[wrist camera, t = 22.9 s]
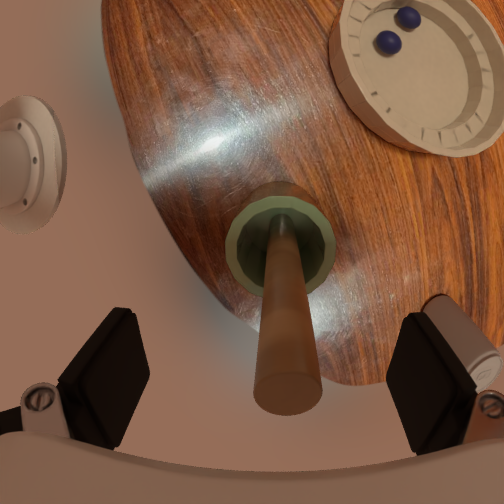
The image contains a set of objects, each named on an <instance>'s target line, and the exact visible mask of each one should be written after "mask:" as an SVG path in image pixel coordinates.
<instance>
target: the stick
mask: <svg viewBox="0 0 504 504" xmlns="http://www.w3.org/2000/svg"><path fill="white" fill-rule="evenodd" d="M322 391H323V390H322V383H321V376H320V369H319V363H318V356H317V350H316V343H315V337H314V331H313V325H312V319H311V313H310V308H309V302H308V296H307V291H306V285H305V280H304V275H303V269H302V264H301V259H300V254H299V249H298V244H297V239H296V234H295V229H294V224H293V221H292V219H291V218H290V217H289V216H288V215H286V214H277V215H275V216H274V217H272V219H271V220H270V223H269V233H268V245H267V256H266V268H265V279H264V290H263V300H262V311H261V321H260V332H259V342H258V352H257V363H256V372H255V382H254V391H253V394H254V398H255V401H256V403H257V404H258V405H259V406H260V407H261V408H262V409H263V410H265V411H267V412H269V413H272V414H276V415H282V416H291V415H297V414H301V413H303V412H306V411H308V410H310V409H312V408H313V407H314V406H315V405H316V404H317V403H318V402H319V400H320V398H321V396H322Z"/></svg>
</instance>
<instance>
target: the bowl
mask: <svg viewBox="0 0 504 504" xmlns="http://www.w3.org/2000/svg"><path fill="white" fill-rule="evenodd" d="M406 6H407V7H412V8H414V9H415V10H417V11H418V12H419V14H420V16H421V24H420V26H419V27H417V28H415V29H408V28H406V27H404V26H402V25H401V24H400V23H399V21H398V19H397V12H398V10H399V9H400V8H402V7H406ZM385 30H389V31H393V32H395V33H396V34H397V35H398V36H399V37H400V39H401V41H402V48H401V50H400V51H399V52H398V53H396V54H393V55H390V54H386V53H384V52H382V51H381V50H380V49H379V48H378V46H377V44H376V37H377V35H378V34H379V33H380V32H381V31H385ZM329 59H330V65H331V68H332V71H333V75H334V78H335V81H336V84H337V87H338V89H339V90H340V92H341V94H342V95H343V97H344V99H345V100H346V102H347V104H348V106H349V107H350V108H351V110H352V111H353V112H354V113H355V114H356V115H357V116H358V117H359V118H360V120H361V121H362V122H363V123H364V124H365V125H366V126H367V127H368V128H369V129H371V130H372V131H373V132H375V133H376V134H377V135H379V136H380V137H382V138H383V139H384V140H386V141H387V142H389V143H391V144H394V145H396V146H399V147H401V148H403V149H405V150H408V151H414V152H421V153H428V154H435V155H442V156H449V157H455V158H458V157H464V156H470V155H476V154H478V153H480V152H481V151H483V150H485V149H487V148H488V147H490V146H492V145H493V144H494V142H495V141H496V140H497V139H498V138H499V136H500V135H501V134H502V133H503V132H504V46H503V44H502V42H501V40H500V38H499V36H498V35H497V33H496V31H495V29H494V27H493V26H492V25H491V23H490V22H489V21H488V19H487V18H486V17H485V16H484V14H483V13H482V12H481V11H480V9H479V8H478V7H477V6H476V5H475V4H474V3H473V2H472V1H470V0H344V2H343V4H342V6H341V8H340V10H339V12H338V14H337V16H336V18H335V20H334V22H333V25H332V29H331V33H330V37H329Z"/></svg>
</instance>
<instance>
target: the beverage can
mask: <svg viewBox="0 0 504 504" xmlns="http://www.w3.org/2000/svg"><path fill="white" fill-rule="evenodd" d="M423 312H425V313H426V314H427V315H428V317H429V318H430V319H431V321H432V322H433V323H434V325H435V326H436V327H437V329H438V330H439V331H440V333H441V334H442V335H443V337H444V338H445V340H446V341H447V342H448V344H449V345H450V347H451V348H452V349H453V351H454V352H455V354H456V355H457V357H458V358H459V359H460V361H461V362H462V364H463V365H464V367H465V368H466V370H467V371H468V373H469V374H470V376H471V377H472V379H473V380H474V382H475V383H476V385H477V388H476V392H477V393H479V392H481V391H483V390H484V389H486V388H487V387H488V386H490V385H491V384H492V383H493V382H494V381H495V379H496V378H497V377H498V375H499V373H500V372H501V369H502V367H503V360H502V358H501V356H500V353H499V352H498V351H497V349H496V348H495V347H494V345H493V344H492V343H491V342H490V341H489V339H488V338H487V337H486V336H485V335H484V333H483V332H482V331H481V330H480V329H479V328H478V326H477V325H476V324H475V323H474V322H473V321H472V320H471V319H470V317H469V316H468V315H467V314H466V313H465V312H464V311H463V310H462V309H461V308H460V307H459V306H458V305H457V304H456V303H455V301H454V300H453V299H452V298H450V297H448V296H445V295H441V296H437V297H435V298H433V299H432V300H431V301H429V302H428V304H427V305H426V306H425V308H424V310H423Z"/></svg>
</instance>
